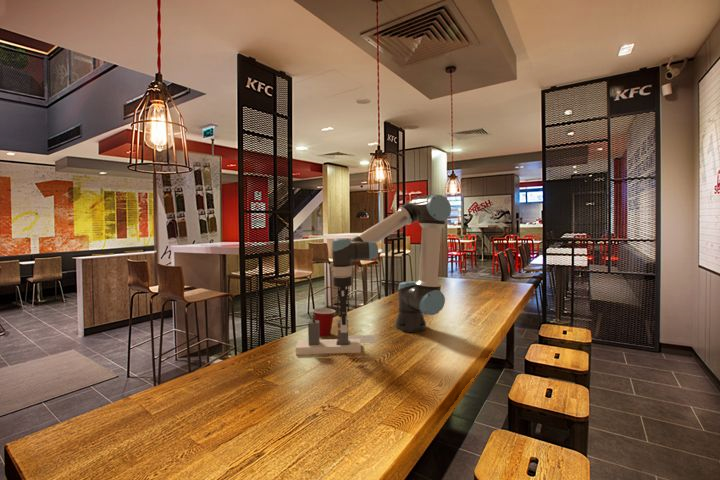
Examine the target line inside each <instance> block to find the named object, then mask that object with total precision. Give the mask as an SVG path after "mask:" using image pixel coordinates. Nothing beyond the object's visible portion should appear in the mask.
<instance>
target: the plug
mask: <svg viewBox="0 0 720 480" xmlns="http://www.w3.org/2000/svg"><path fill="white" fill-rule="evenodd" d="M347 330H348V332H347V333H341V327H340V319H338V320H337V339H338V345H348V336H349V320H348V319H347Z"/></svg>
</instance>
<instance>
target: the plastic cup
mask: <svg viewBox="0 0 720 480" xmlns="http://www.w3.org/2000/svg"><path fill="white" fill-rule="evenodd" d="M336 312H337V311H336V310H335V309H333V308H327V307H326V308H323V307H322V308H320V307H319V308H318V307H317V308H314V309H312V313H313V314H315V320H319V331H320V337H328V336H330V335H331V333H332V327H333V326H332V325H333V321H334V316H335V313H336Z"/></svg>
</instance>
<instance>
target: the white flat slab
mask: <svg viewBox="0 0 720 480" xmlns="http://www.w3.org/2000/svg"><path fill="white" fill-rule="evenodd" d="M348 339H360V344H361V343H362V344H364V343H366V344H368V343H370V344H371V343H376V338H375V335H374V334H365V335H363V334H361V335H360V334H359V335H358V334H357V335H354V334H353V335H348Z"/></svg>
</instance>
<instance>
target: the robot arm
mask: <svg viewBox="0 0 720 480" xmlns="http://www.w3.org/2000/svg"><path fill="white" fill-rule="evenodd" d="M451 206H452V205H451V203H450V201H449V200H448V199H447V197H445V196H444V195H442V194H433V193H432V194H428V195H427V194H426V195H420V196H416V197H415V198H412V199H411V200H410V201H407V202H406V203H405V204H403V205H401V206H400V207H398V209H397V211H395V212H394V213H392V214H391V215H389V216H387V217H385V218H384V219H382V220H381V221H379V222H377V223H375V224H374V225H373V226H371V227H369V228H368V229H366V230H364V231H363V232H361V233H360V234H358V235H356V236H355V237H353V238H348V237H347V238H344V237H343V238H341V237H340V238H334V239H333V240H332V241H331V243H332V244H331V252H332V268H331V272H332V274H333V279H332V280H333V281H332V283H333V286H334V287H336V288H339V289H338V290H337V295H338V301H339V311H340V313H339V314H338V318H339V320H340V327H341V333H347V332H348V333H349V329H348V330H347V320H348V307H349V303H348V296H349V295H348V294H349V293H348V292H349V291H348V290H349V289H347V287H348V288H349V287H350V286H352V284H353V281H352V279H353V278H352V262H354V261H355V262H356V261H368V260H369V261H370V260H375V259H376V258H377V257H378V256H379V246H378V244H377V243H379V242H380V241H382V240H384V239H385V238H387V237H388V236H391V234H393V233H394V232H397V230H400V229H401V228H403V227H405V226H406V225H407V226H409V225H411V224H414V223H416V222H418V225H419V226H420V227H421V240H420V251H419V253H420V255H419V256H420V257H419V267H418V280H413V281H412V280H411V281H402V282H399V283H398V288H397V289H398V290H397V291H398V312H397V313H398V314H397V316H396V318H395V319H396V320H395V322H394V328H395V330H396V329H397V330H398V331H401V332H404V333H418V332H419V333H420V332H423V331H425V330H427V323H426V319H425V317H424V315H428V316H435V315H438V314H439V313H440V311H442V310H443V308H444V306H445V304H446V297H445V295H444V293H443V292H442V291H441V287H442V285H441V283H440V282H439V267H440V266H439V265H440V253H441V251H440V250H441V249H440V248H441V237H442V228H444V227H445V225H446V220H447V219H448V218H449V217H450V215H451V213H452V207H451Z"/></svg>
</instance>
